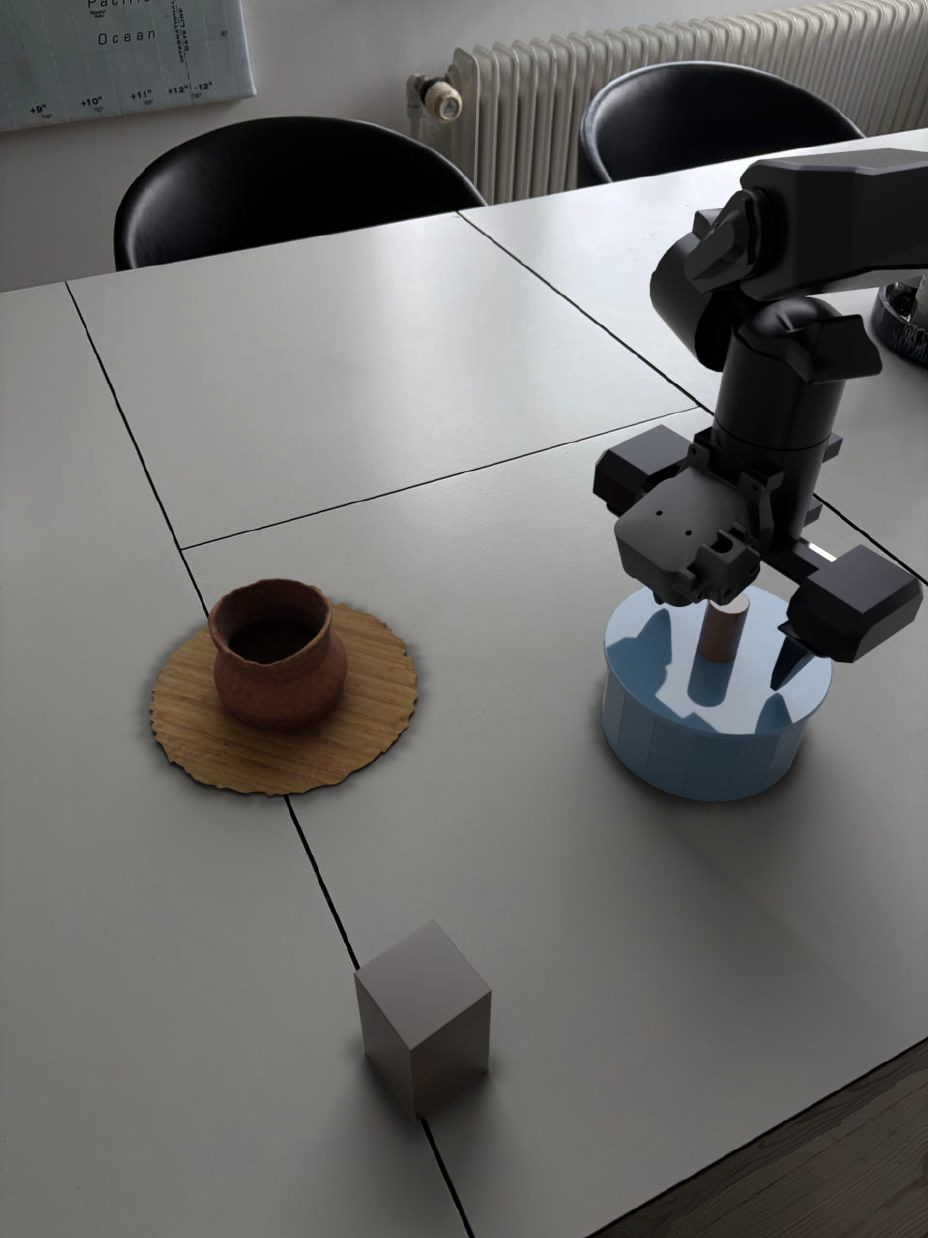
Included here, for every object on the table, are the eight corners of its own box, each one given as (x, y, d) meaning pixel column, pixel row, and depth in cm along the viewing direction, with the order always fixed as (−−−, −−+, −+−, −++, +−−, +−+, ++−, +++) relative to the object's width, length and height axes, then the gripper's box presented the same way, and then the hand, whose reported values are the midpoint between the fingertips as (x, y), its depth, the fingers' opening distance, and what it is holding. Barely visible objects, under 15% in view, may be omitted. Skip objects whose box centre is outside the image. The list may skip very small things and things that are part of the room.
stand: (488, 1068, 49) (492, 990, 44) (415, 1125, 47) (410, 1051, 42) (436, 999, 52) (433, 918, 47) (364, 1051, 50) (352, 973, 45)
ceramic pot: (238, 848, 59) (218, 772, 54) (102, 678, 69) (75, 602, 64) (471, 700, 67) (473, 624, 62) (321, 569, 77) (312, 494, 72)
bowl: (837, 737, 65) (865, 667, 60) (703, 837, 59) (723, 768, 55) (693, 630, 72) (709, 560, 68) (562, 709, 67) (569, 639, 62)
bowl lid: (875, 677, 61) (900, 615, 57) (722, 786, 55) (739, 725, 51) (707, 562, 69) (720, 501, 65) (557, 646, 63) (563, 585, 59)
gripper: (528, 391, 52) (516, 613, 63) (822, 581, 41) (747, 809, 52) (679, 330, 57) (644, 545, 68) (976, 484, 46) (879, 711, 57)
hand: (717, 642), depth 61 cm, fingers open, 9 cm apart
